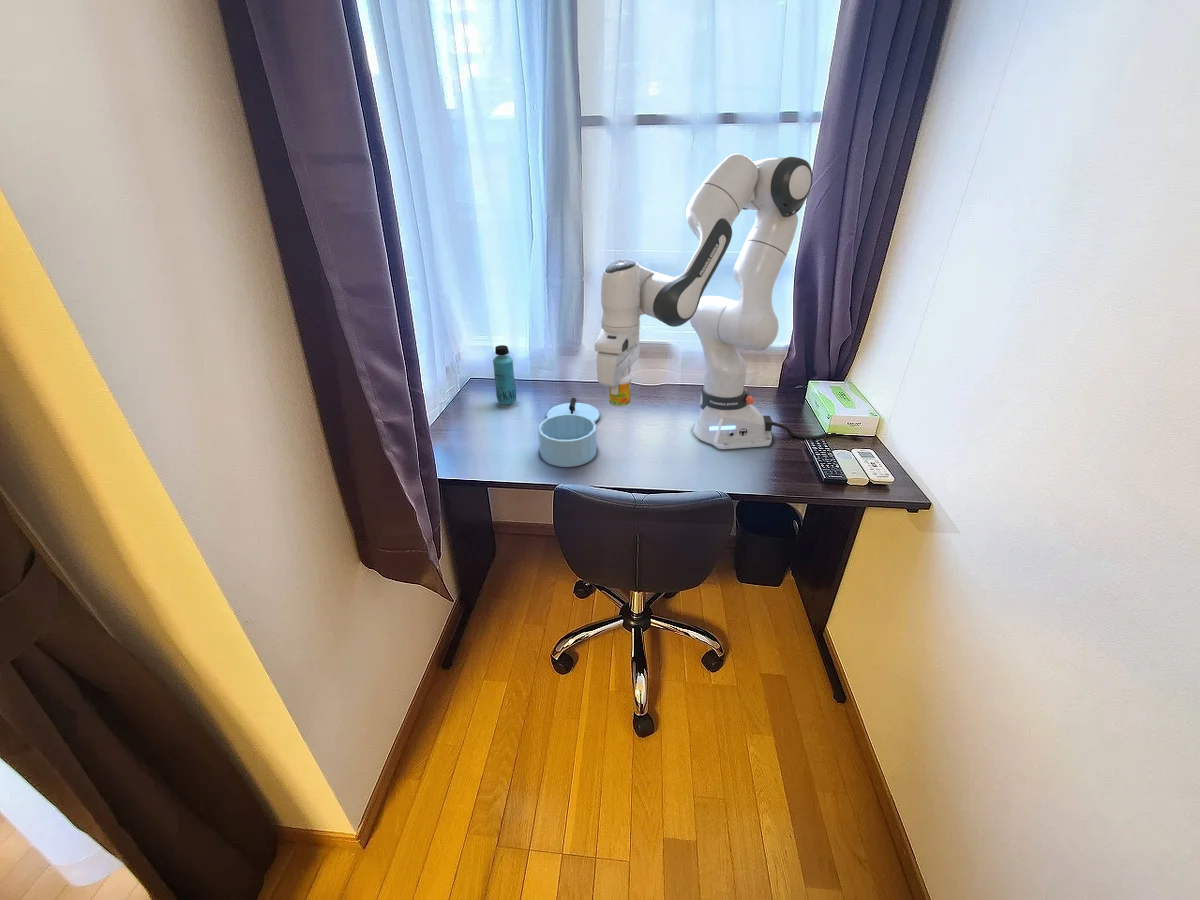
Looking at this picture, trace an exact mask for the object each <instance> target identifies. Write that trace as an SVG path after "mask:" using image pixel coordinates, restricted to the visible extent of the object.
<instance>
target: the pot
mask: <svg viewBox="0 0 1200 900" xmlns="http://www.w3.org/2000/svg"><path fill="white" fill-rule="evenodd" d="M537 433H538V446H539V453H540V457H541V458H542V460H543V461H544V462H545V463H548V464H549V465H552V466H556V467H561V468H572V467H578V466H582V465H584V464H585V465H586V464H587V463H589V462H591V461H592V460H593V459H594V458H595V457H596V455H597V449H598V448H597V447H598V446H597V444H598V443H597V424H596V422H594V421H593V420H592V419H590V418H588V417H586V416H583V415H578V414H560V415H554V416H552V417H549V418H547V417H546V418H544V419H543V421H540V423H539V425H538V428H537Z"/></svg>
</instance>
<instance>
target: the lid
mask: <svg viewBox="0 0 1200 900" xmlns="http://www.w3.org/2000/svg"><path fill="white" fill-rule="evenodd" d="M560 414H578V415H583V416H586V417H588V418H590V419H592V420H593V421H594V422H595V423H596V422H597V421H598V420H599V418H600V411H599V410H598V408H596V407H595V406H593V405H592V404H588V403H584V402H577V398H576V397H572V398H571V399H570V402H565V403H561V404H558V405H555V406H553V407H551V408H550V409H549V410H548V411H547V412H546V419H547V418H549V417H552V416H554V415H560Z"/></svg>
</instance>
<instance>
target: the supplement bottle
mask: <svg viewBox="0 0 1200 900" xmlns="http://www.w3.org/2000/svg"><path fill="white" fill-rule="evenodd" d="M618 386H620V392H619V393H618V395H612V394H611V387H610V386H608V402H609V405H610V406H612V407H614V408H619V409H620V408H626V407H629V406H630V405H631V400H632V399H631V398H632V397H631V396H632V395H631V393H632V377H631V375H630V374H628V368H627V369H626V372H625V373H624V375H623V376H622V377H621V378H620V379H619V382H618Z"/></svg>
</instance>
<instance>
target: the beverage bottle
mask: <svg viewBox="0 0 1200 900" xmlns="http://www.w3.org/2000/svg"><path fill="white" fill-rule="evenodd" d="M494 352H495V353H494V354H495V355H496V356H495V357H494V358H493V360H492V363H493V364H492V365H493V376H494V384H495V395H496V400H497V402H498V403H499V404H501V405H510V404H513V403H515V402H516V401H517V391H516V390H517V389H516V382H515V381H516V379H515V371H514V360H513V358H512V357H511V356H509V353H510V352H509V347H508V345H505V344H500V345H497V346H495V348H494Z"/></svg>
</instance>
